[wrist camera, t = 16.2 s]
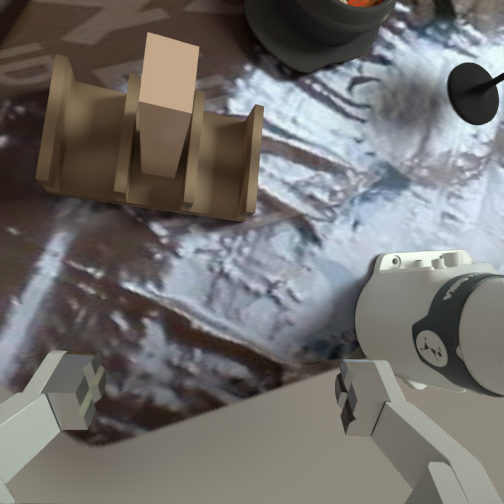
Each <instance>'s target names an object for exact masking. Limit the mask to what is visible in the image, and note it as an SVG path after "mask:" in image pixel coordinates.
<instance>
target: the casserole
mask: <svg viewBox="0 0 504 504" xmlns="http://www.w3.org/2000/svg"><path fill="white" fill-rule="evenodd" d="M395 4H396V0H245V2H244V11H245V16H246V19H247V22H248V25H249V27H250V28H251V30H252V32H253V34H254V35H255V37H256V39H257V40H258V41H259V42H260V44H261V45H262V46H263V47H264V49H265V50H266V51H267V52H268V53H270V54H271V55H272V56H273V57H274V58H275V59H276V60H277V61H279V62H280V63H282V64H283V65H285V66H287V67H288V68H290V69H293V70H295V71H297V72H302V73H311V72H313V71H315V70H318V69H320V68H322V67H325V66H327V65H329V64H334V63H340V62H345V61H350V60H353V59H355V58H357V57H359V56H361V55H362V54H364V53H365V52H366V51H367V50H368V49H369V48H370V47H371V45H372V44H373V43H374V41H375V39H376V37H377V34H378V32H379V27H380V26H381V25H382V24H384V23H385V22H386V21H387V19H388V18H389V17H390V15H391V14H392V12H393V9H394V7H395Z"/></svg>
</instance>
